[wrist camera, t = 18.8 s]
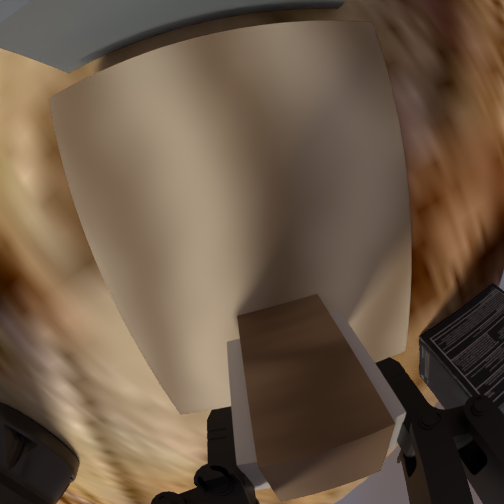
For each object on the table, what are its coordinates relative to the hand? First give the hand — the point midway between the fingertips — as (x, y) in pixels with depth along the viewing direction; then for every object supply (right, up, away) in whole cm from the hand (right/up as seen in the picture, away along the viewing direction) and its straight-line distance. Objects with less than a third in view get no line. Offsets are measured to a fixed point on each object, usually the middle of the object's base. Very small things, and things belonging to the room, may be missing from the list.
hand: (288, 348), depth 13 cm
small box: (+18, -3, +8) cm, 20 cm away
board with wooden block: (-1, +5, 0) cm, 5 cm away
